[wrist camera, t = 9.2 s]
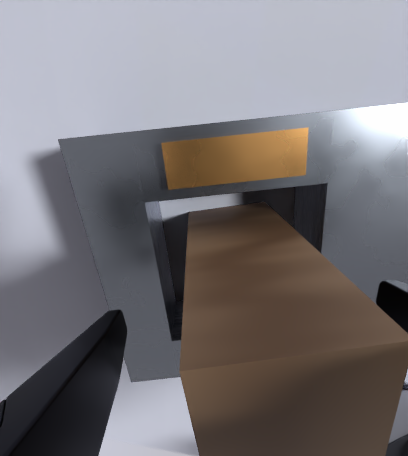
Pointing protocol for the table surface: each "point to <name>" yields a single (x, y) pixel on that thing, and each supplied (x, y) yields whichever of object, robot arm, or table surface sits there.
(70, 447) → the robot arm
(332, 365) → the walnut peg
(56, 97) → the table surface
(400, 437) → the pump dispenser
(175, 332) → the grey peg hole board
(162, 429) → the table surface
